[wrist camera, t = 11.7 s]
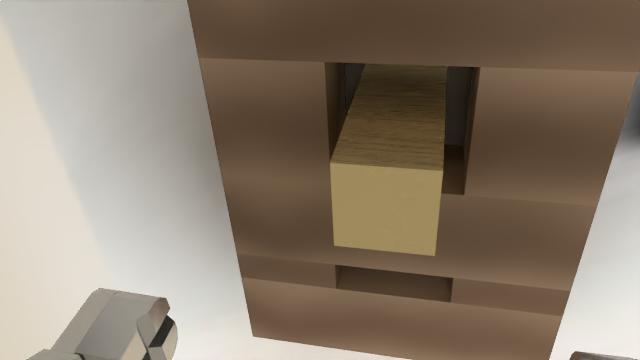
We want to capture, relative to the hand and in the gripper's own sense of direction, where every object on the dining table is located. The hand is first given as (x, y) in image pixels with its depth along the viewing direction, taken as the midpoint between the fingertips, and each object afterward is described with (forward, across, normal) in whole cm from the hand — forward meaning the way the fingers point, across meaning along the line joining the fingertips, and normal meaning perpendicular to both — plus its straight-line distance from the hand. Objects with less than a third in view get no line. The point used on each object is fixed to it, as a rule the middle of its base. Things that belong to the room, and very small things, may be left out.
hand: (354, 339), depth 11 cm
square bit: (+13, 0, +1) cm, 13 cm away
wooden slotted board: (+13, 0, +4) cm, 13 cm away
